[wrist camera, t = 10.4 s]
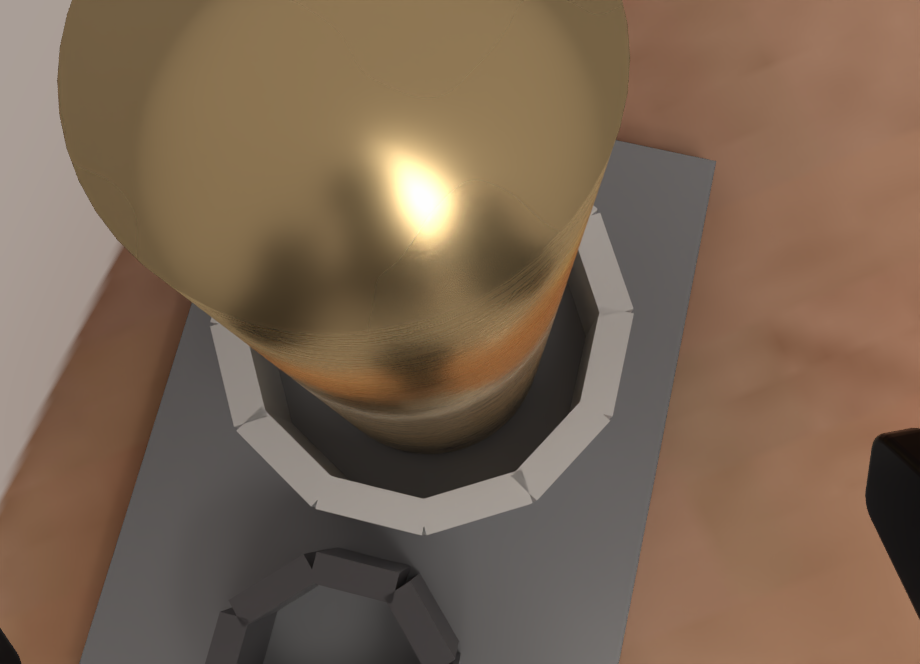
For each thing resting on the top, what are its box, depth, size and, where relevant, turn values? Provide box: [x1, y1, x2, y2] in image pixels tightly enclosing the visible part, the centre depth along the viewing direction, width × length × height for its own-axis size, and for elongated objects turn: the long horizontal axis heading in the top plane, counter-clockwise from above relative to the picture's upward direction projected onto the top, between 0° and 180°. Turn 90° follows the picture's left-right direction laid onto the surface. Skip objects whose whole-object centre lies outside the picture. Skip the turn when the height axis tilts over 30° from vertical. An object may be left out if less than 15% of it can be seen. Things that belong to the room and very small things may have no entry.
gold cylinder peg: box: [57, 0, 630, 454], centre depth 14 cm, size 5×5×13 cm
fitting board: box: [79, 140, 716, 664], centre depth 19 cm, size 17×12×3 cm
